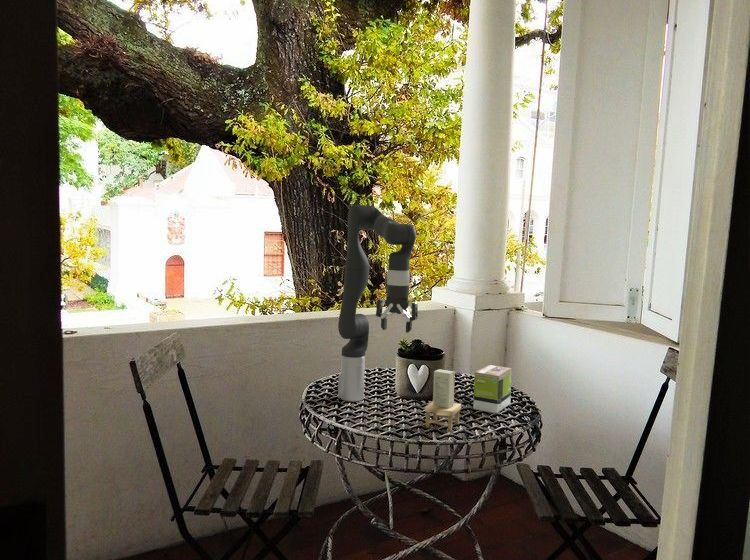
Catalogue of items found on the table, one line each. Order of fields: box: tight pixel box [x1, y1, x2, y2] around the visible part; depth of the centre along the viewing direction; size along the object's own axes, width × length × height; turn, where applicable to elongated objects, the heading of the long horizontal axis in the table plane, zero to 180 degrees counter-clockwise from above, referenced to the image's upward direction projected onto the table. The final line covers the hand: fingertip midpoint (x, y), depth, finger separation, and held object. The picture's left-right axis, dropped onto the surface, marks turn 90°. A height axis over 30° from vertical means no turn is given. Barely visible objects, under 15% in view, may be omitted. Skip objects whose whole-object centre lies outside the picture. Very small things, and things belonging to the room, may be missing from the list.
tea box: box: [472, 364, 513, 414], centre depth 247 cm, size 15×10×15 cm
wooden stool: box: [424, 400, 462, 432], centre depth 223 cm, size 10×10×7 cm
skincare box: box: [432, 368, 456, 408], centre depth 222 cm, size 6×4×12 cm
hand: (395, 331), depth 217 cm, fingers open, 8 cm apart
